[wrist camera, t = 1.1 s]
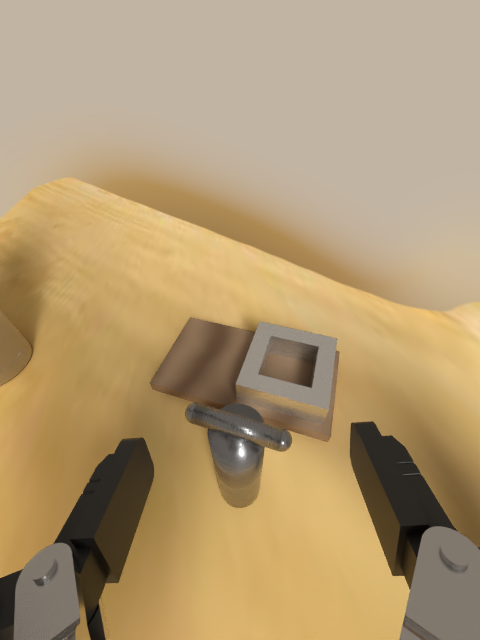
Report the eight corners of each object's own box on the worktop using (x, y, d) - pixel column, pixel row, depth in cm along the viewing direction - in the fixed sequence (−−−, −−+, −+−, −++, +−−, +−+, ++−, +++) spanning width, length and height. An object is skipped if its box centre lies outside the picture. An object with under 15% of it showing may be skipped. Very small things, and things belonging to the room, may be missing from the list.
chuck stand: (152, 389, 37) (142, 366, 33) (191, 324, 45) (187, 300, 41) (327, 441, 32) (338, 421, 28) (336, 358, 40) (345, 334, 36)
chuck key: (198, 493, 28) (171, 433, 18) (213, 453, 31) (196, 381, 21) (270, 520, 27) (286, 471, 16) (280, 476, 29) (298, 409, 19)
